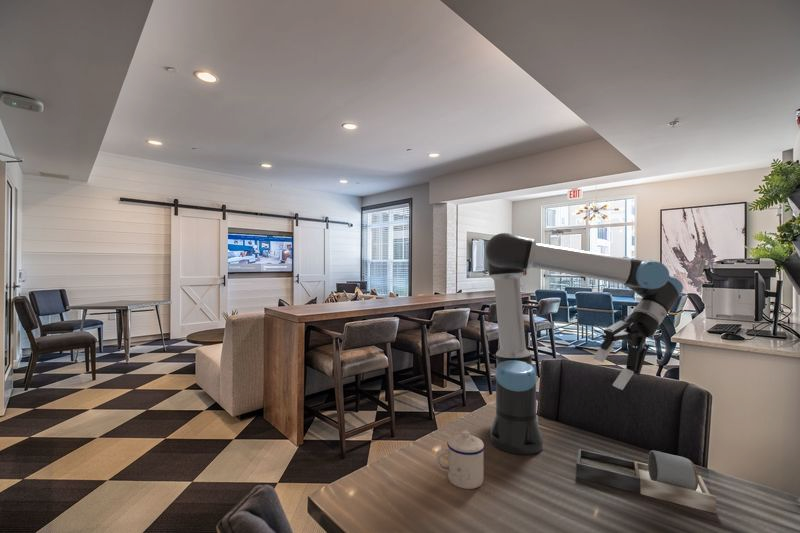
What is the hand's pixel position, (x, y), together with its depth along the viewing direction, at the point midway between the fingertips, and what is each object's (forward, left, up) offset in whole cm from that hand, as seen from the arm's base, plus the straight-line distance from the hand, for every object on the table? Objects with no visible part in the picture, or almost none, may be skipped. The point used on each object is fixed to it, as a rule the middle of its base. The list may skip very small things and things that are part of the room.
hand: (607, 374), depth 100 cm
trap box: (+6, -11, -23) cm, 26 cm away
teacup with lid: (-32, -33, -23) cm, 52 cm away
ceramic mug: (+12, -10, -22) cm, 27 cm away
